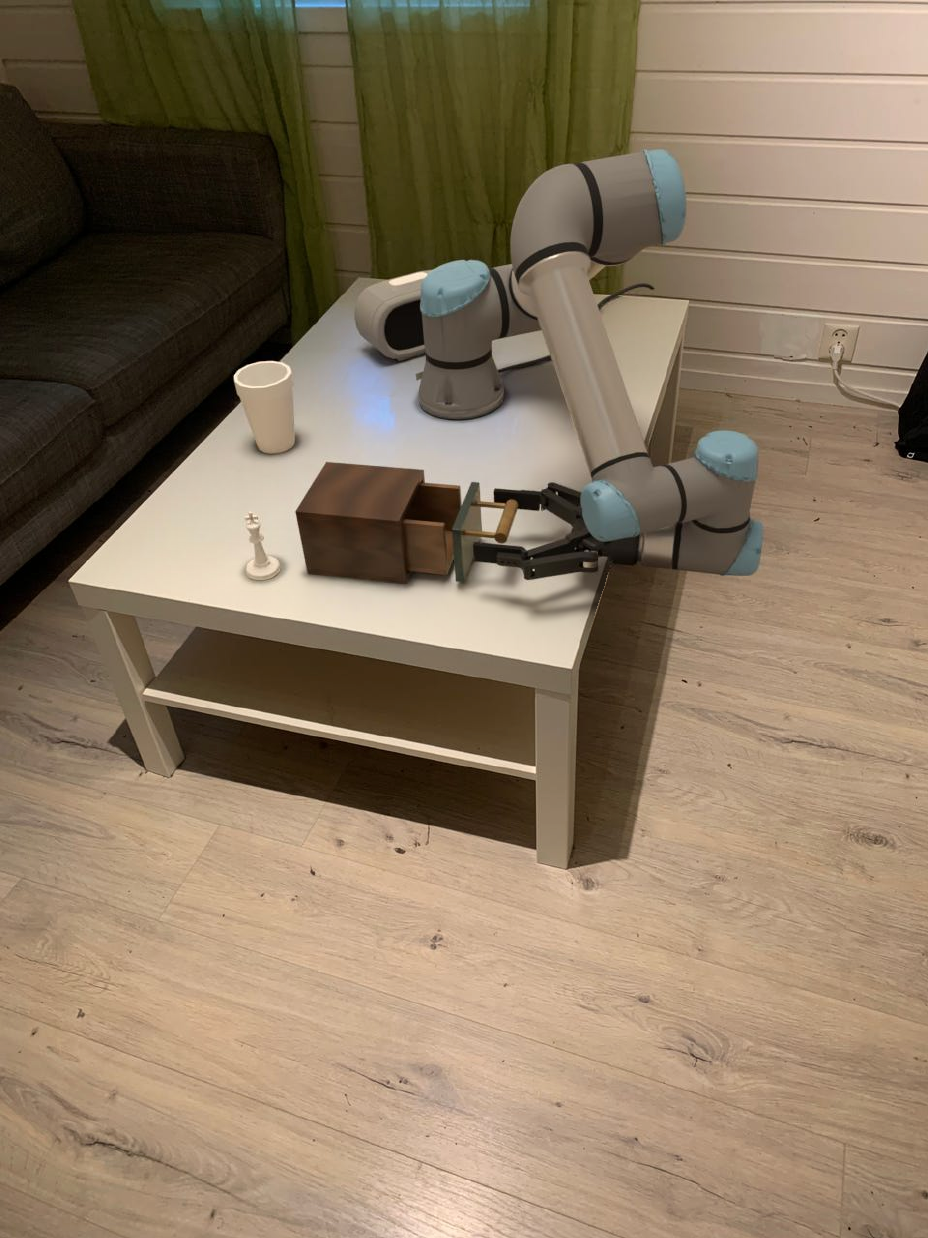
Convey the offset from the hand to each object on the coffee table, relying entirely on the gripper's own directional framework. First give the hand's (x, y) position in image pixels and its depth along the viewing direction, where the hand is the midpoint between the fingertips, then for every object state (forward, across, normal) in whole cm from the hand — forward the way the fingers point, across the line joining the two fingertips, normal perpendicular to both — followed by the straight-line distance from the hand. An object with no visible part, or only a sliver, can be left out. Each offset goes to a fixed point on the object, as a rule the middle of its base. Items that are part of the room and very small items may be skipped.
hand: (484, 523), depth 139 cm
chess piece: (+32, -7, -7) cm, 33 cm away
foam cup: (+43, +27, -7) cm, 51 cm away
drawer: (+6, 0, -6) cm, 8 cm away
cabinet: (+17, 0, -7) cm, 19 cm away
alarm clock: (+29, +66, -7) cm, 73 cm away
